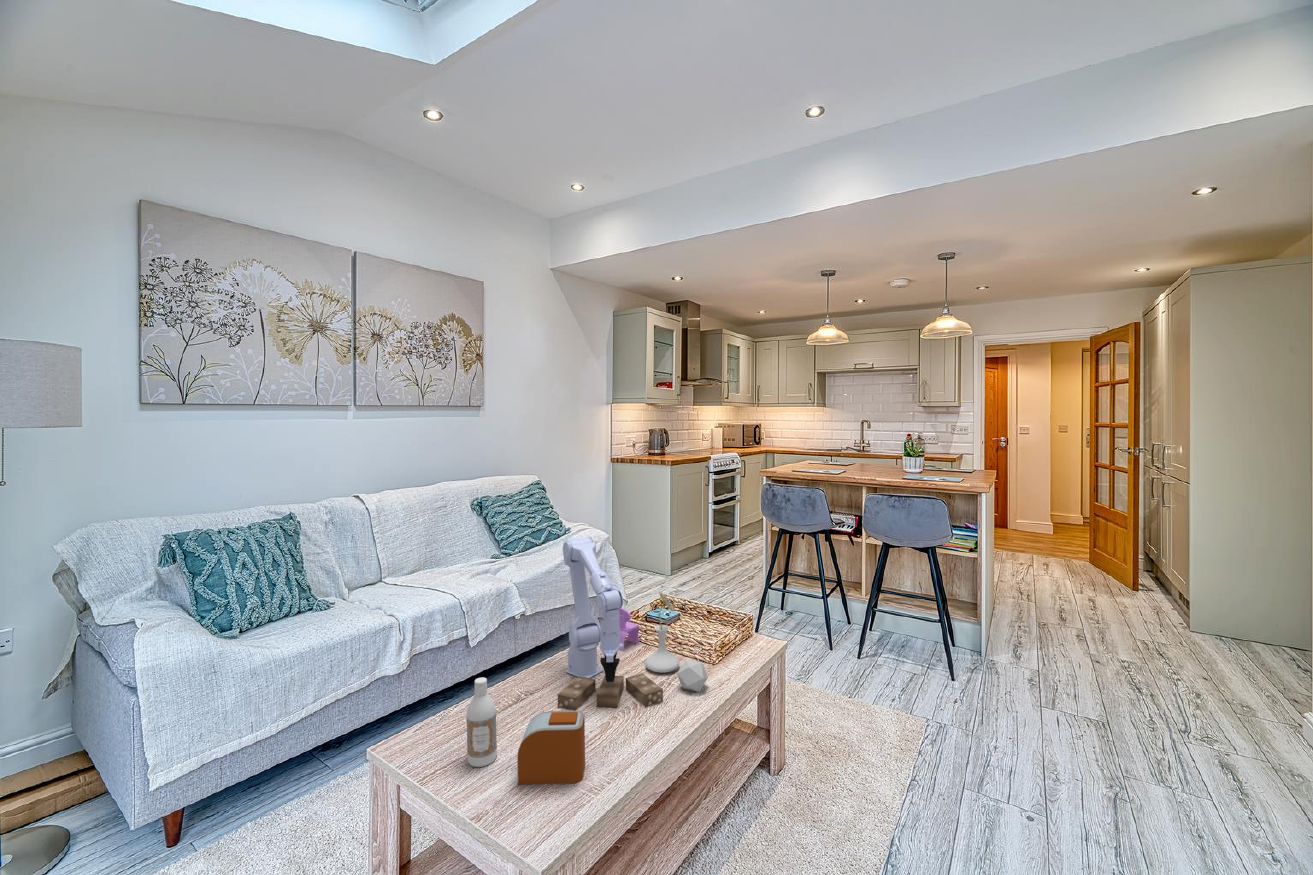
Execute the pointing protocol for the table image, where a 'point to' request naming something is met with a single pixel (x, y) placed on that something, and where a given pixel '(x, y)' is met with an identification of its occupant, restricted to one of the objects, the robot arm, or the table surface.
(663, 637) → the flower in vase
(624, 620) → the toy chair
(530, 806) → the table surface
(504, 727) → the table surface
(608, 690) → the plain block
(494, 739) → the bath foam
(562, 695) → the pip block three
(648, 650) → the table surface
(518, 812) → the table surface
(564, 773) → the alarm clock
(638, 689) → the pip block five
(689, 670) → the die
